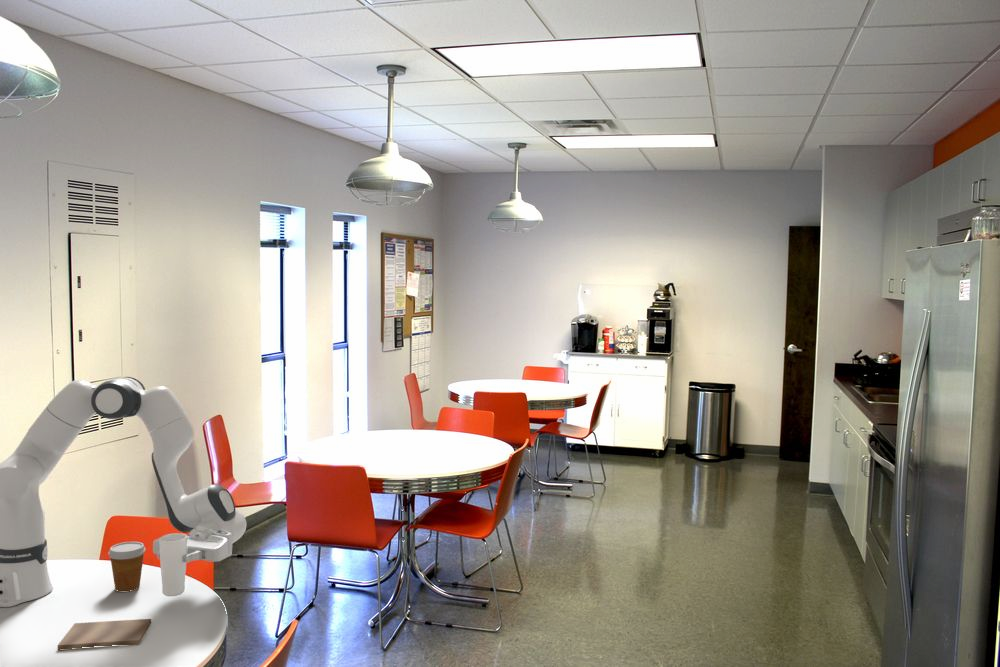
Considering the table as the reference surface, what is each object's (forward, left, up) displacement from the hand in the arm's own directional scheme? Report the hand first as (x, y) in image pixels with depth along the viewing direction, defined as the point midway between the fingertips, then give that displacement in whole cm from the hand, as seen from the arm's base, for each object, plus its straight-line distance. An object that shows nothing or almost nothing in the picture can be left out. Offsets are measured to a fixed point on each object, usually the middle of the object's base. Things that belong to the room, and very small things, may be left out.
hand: (172, 557), depth 201 cm
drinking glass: (0, +1, -10) cm, 10 cm away
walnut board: (-13, -9, -16) cm, 23 cm away
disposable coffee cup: (-16, +22, -16) cm, 32 cm away
